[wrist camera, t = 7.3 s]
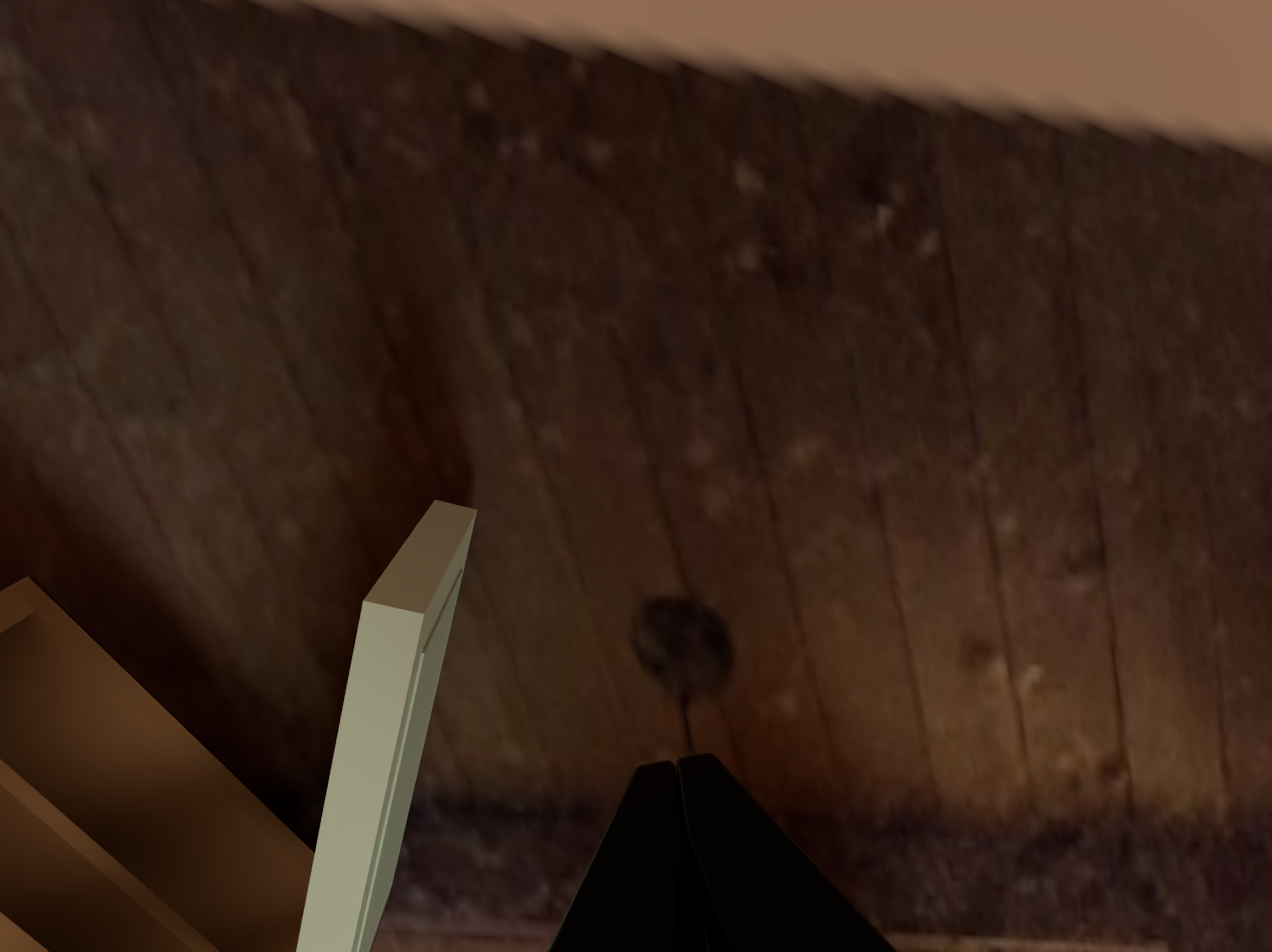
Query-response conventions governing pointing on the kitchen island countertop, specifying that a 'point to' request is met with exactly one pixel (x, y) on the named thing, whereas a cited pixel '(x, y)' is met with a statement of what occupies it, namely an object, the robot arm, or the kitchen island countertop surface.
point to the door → (384, 732)
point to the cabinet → (124, 811)
